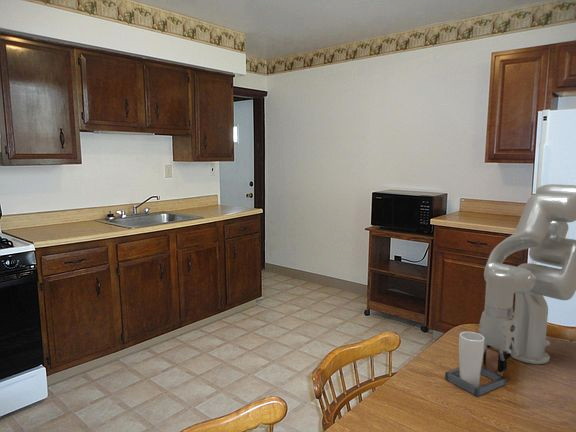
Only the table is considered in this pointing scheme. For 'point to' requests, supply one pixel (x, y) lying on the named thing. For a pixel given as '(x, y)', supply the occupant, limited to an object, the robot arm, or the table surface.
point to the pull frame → (488, 371)
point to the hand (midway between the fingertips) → (494, 367)
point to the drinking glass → (471, 356)
